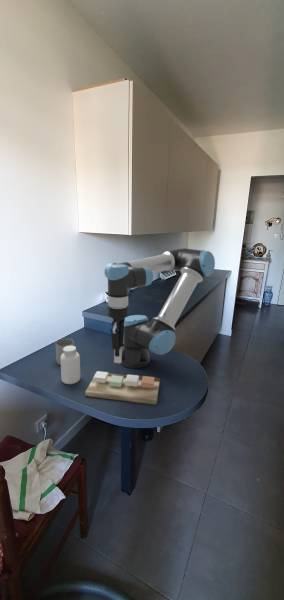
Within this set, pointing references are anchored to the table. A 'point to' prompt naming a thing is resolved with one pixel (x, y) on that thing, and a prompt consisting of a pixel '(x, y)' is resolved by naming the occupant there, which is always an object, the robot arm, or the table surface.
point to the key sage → (116, 381)
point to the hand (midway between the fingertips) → (117, 362)
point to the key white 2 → (132, 380)
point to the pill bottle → (70, 365)
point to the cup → (59, 348)
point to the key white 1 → (100, 377)
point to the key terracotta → (147, 382)
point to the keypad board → (124, 391)
